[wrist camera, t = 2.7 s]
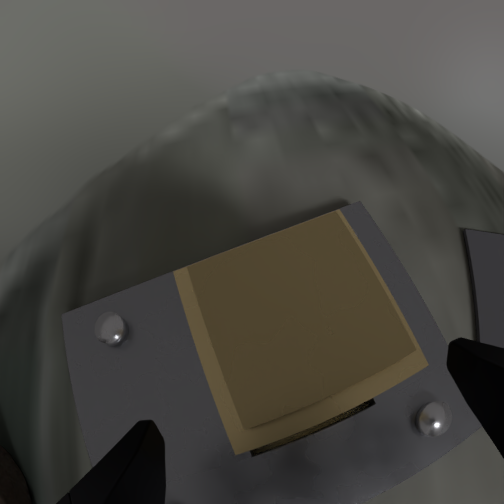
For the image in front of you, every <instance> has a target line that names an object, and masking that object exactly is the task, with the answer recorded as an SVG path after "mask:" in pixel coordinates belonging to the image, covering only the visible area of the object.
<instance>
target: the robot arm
mask: <svg viewBox="0 0 504 504" xmlns="http://www.w3.org/2000/svg"><path fill="white" fill-rule="evenodd" d="M446 365H447V369H448V371H449V373H450V375H451V376H452V378H453V380H454V382H455V383H456V385H457V387H458V389H459V390H460V392H461V394H462V396H463V398H464V400H465V401H466V403H467V405H468V406H469V408H470V409H471V411H472V412H473V413H474V415H475V416H476V418H477V419H478V421H479V422H480V423H481V425H482V426H483V428H484V429H485V431H486V432H487V434H488V435H489V437H490V438H491V440H492V441H493V443H494V444H495V446H496V447H497V449H498V450H499V452H500V454H501V455H502V457H503V458H504V348H502V347H497V346H493V345H489V344H485V343H481V342H477V341H473V340H469V339H465V338H457V339H455V340H453V341H451V342H450V343H449V346H448V354H447V361H446ZM69 492H70V493H67V494H66V495H65V496H64V497H63V498H62V499H61V500H60V501H59V502H57V503H56V504H165V496H166V465H165V441H164V438H163V436H162V434H161V433H160V431H159V429H158V427H157V426H156V424H155V422H154V421H153V420H150V419H149V420H140V421H138V422H137V423H136V424H135V425H134V426H133V427H132V428H131V429H130V430H129V431H128V432H127V433H126V434H125V435H124V436H123V437H122V438H121V440H120V441H119V442H118V443H117V444H116V445H115V446H114V447H113V448H112V449H111V450H110V451H109V452H108V453H107V454H106V455H105V456H104V457H103V458H102V459H101V460H100V461H99V462H98V463H97V464H96V465H95V466H94V467H93V468H92V469H91V470H90V471H89V472H88V473H87V474H86V475H85V476H84V477H83V478H82V479H81V480H80V481H79V482H78V483H77V484H76V485H75V486H74V487H73V488H72V489H71V490H70V491H69Z"/></svg>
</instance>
